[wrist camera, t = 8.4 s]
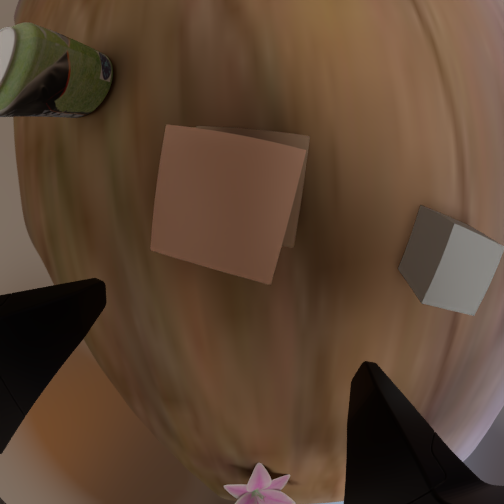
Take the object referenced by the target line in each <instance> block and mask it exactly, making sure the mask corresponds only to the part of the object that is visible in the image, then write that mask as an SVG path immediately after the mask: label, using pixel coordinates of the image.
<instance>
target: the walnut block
mask: <svg viewBox="0 0 504 504" xmlns="http://www.w3.org/2000/svg"><path fill="white" fill-rule="evenodd" d="M196 128H200V129H207V130H213V131H219V132H225V133H231V134H237V135H242V136H247V137H252V138H257V139H262V140H266V141H271V142H275V143H280V144H284V145H288V146H292V147H296V148H300V149H304V150H306V154H305V158H304V162H303V166H302V170H301V174H300V178H299V182H298V186H297V190H296V194H295V198H294V202H293V205H292V209H291V213H290V217H289V221H288V224H287V228H286V232H285V235H284V239H283V243H282V246H286V247H292V248H294V242H295V236H296V230H297V224H298V218H299V212H300V205H301V198H302V192H303V185H304V178H305V171H306V163H307V156H308V148H309V140H310V136H305V135H299V134H292V133H284V132H276V131H267V130H257V129H246V128H232V127H214V126H196Z"/></svg>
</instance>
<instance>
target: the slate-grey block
mask: <svg viewBox="0 0 504 504" xmlns="http://www.w3.org/2000/svg"><path fill="white" fill-rule="evenodd" d="M503 251H504V246H502V245H501V244H499V243H498V242H496V241H494V240H493V239H491V238H490V237H488V236H486V235H485V234H483V233H481V232H480V231H478V230H476V229H474V228H473V227H471V226H469V225H467V224H465V223H463V222H460V221H458V220H456V219H454V218H451V217H449V216H447V215H444V214H442V213H440V212H437V211H435V210H432V209H430V208H427V207H425V206H422V205H420V208H419V211H418V215H417V218H416V221H415V224H414V227H413V230H412V233H411V236H410V238H409V241H408V244H407V247H406V249H405V252H404V255H403V257H402V260H401V262H400V265H399V267H398V270H399V271H400V273H401V274H402V276H403V277H404V278H405V280H406V281H407V283H408V284H409V286H410V287H411V288H412V290H413V291H414V293H415V294H416V296H417V297H418V299H419V300H420V302H421V303H422V304H427V305H431V306H435V307H439V308H443V309H447V310H452V311H456V312H460V313H464V314H469V315H473V316H474V315H475V313H476V311H477V309H478V307H479V305H480V303H481V301H482V299H483V297H484V295H485V293H486V291H487V289H488V287H489V285H490V283H491V280H492V278H493V276H494V273H495V271H496V269H497V266H498V264H499V261H500V259H501V256H502V254H503Z"/></svg>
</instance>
